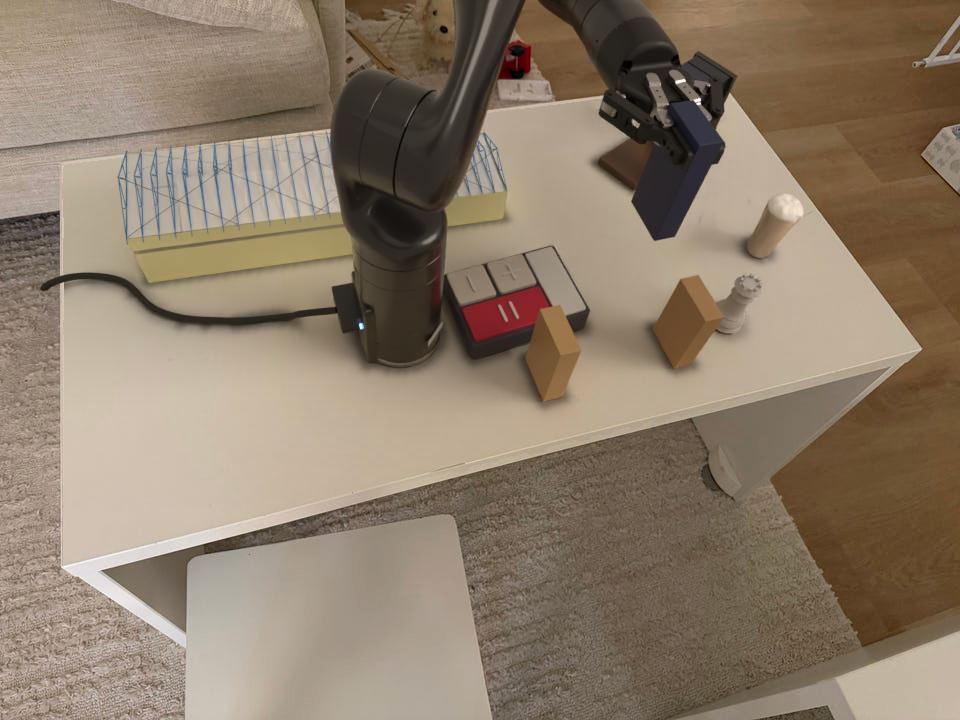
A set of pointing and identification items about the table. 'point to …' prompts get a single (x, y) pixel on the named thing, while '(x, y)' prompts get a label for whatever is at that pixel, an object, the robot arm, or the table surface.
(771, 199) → the milkshake
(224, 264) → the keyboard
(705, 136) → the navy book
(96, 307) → the table surface
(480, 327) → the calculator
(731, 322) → the rook chess piece
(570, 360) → the tan blocks
